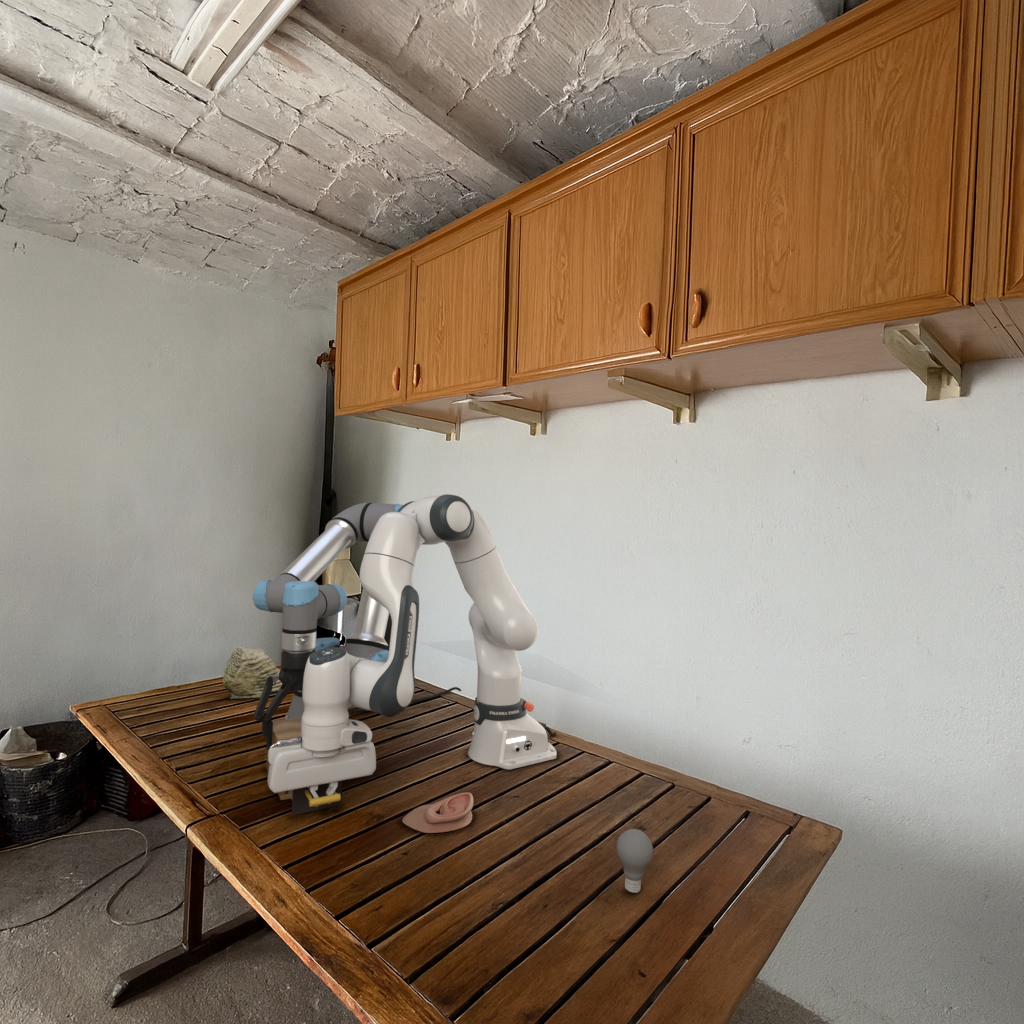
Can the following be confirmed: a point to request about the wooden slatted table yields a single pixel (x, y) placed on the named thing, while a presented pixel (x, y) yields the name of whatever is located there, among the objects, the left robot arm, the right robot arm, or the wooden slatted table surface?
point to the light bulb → (634, 857)
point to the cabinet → (285, 738)
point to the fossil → (249, 673)
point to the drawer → (306, 803)
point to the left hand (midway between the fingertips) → (295, 745)
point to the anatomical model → (442, 814)
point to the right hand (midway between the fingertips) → (322, 804)
